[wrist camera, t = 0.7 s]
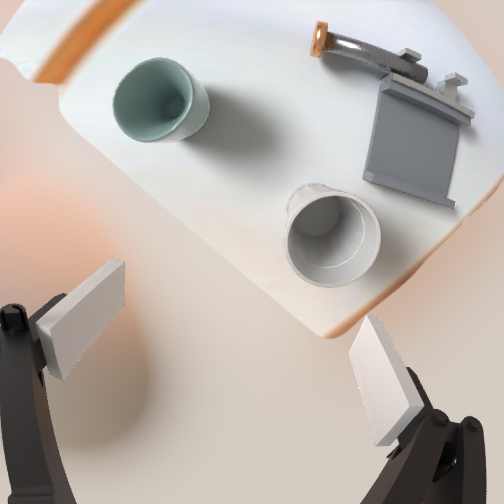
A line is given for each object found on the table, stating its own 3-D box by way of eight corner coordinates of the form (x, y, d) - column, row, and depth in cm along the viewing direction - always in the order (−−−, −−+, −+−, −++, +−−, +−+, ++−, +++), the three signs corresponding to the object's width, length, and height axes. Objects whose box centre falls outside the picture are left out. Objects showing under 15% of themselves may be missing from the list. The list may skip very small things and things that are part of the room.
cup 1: (229, 116, 30) (212, 103, 21) (175, 155, 32) (140, 160, 23) (192, 67, 28) (163, 41, 19) (141, 107, 30) (98, 98, 21)
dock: (379, 85, 27) (390, 80, 24) (456, 119, 27) (470, 118, 24) (362, 178, 31) (371, 182, 28) (440, 203, 31) (453, 209, 28)
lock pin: (308, 60, 26) (314, 48, 22) (313, 29, 24) (319, 14, 20) (412, 94, 26) (430, 89, 22) (416, 64, 24) (433, 56, 20)
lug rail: (383, 54, 26) (398, 44, 21) (459, 90, 26) (478, 86, 21) (379, 85, 27) (394, 78, 23) (456, 119, 27) (476, 118, 23)
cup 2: (329, 165, 31) (361, 175, 20) (355, 225, 34) (391, 263, 22) (267, 193, 33) (266, 218, 22) (296, 252, 35) (307, 302, 24)
